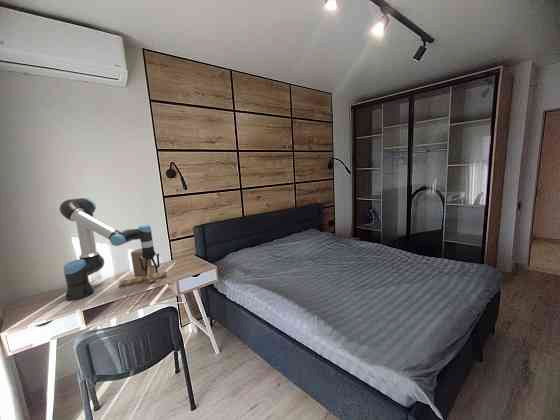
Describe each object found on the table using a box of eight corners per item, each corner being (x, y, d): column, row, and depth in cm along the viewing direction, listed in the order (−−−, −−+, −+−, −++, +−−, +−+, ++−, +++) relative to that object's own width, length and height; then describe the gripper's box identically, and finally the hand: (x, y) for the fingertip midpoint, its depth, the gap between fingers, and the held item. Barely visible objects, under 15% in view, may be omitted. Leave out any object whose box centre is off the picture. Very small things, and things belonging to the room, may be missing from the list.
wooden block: (153, 271, 210) (149, 247, 207) (145, 276, 200) (142, 251, 197) (142, 271, 211) (138, 248, 208) (134, 276, 201) (130, 252, 198)
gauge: (149, 281, 182) (147, 267, 180) (150, 276, 193) (148, 262, 192) (155, 280, 183) (153, 265, 182) (156, 275, 195) (154, 261, 193)
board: (118, 287, 180) (118, 285, 180) (120, 283, 188) (120, 280, 188) (166, 277, 192) (166, 275, 192) (166, 273, 201) (166, 271, 200)
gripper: (133, 250, 175) (138, 282, 178) (160, 245, 182) (165, 276, 185) (134, 247, 182) (139, 279, 185) (160, 243, 189) (165, 273, 192)
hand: (152, 277), depth 185 cm, fingers closed on gauge, 4 cm apart
